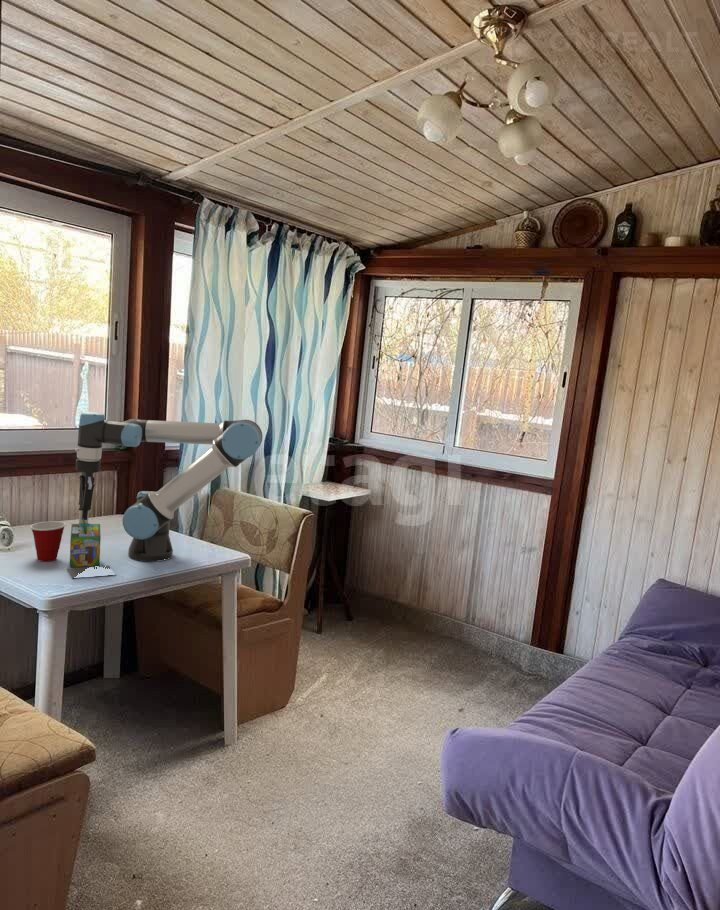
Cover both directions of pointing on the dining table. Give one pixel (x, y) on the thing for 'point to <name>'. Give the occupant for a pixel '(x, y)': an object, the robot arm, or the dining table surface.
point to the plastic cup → (47, 539)
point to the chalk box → (85, 545)
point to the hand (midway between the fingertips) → (82, 528)
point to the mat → (80, 570)
